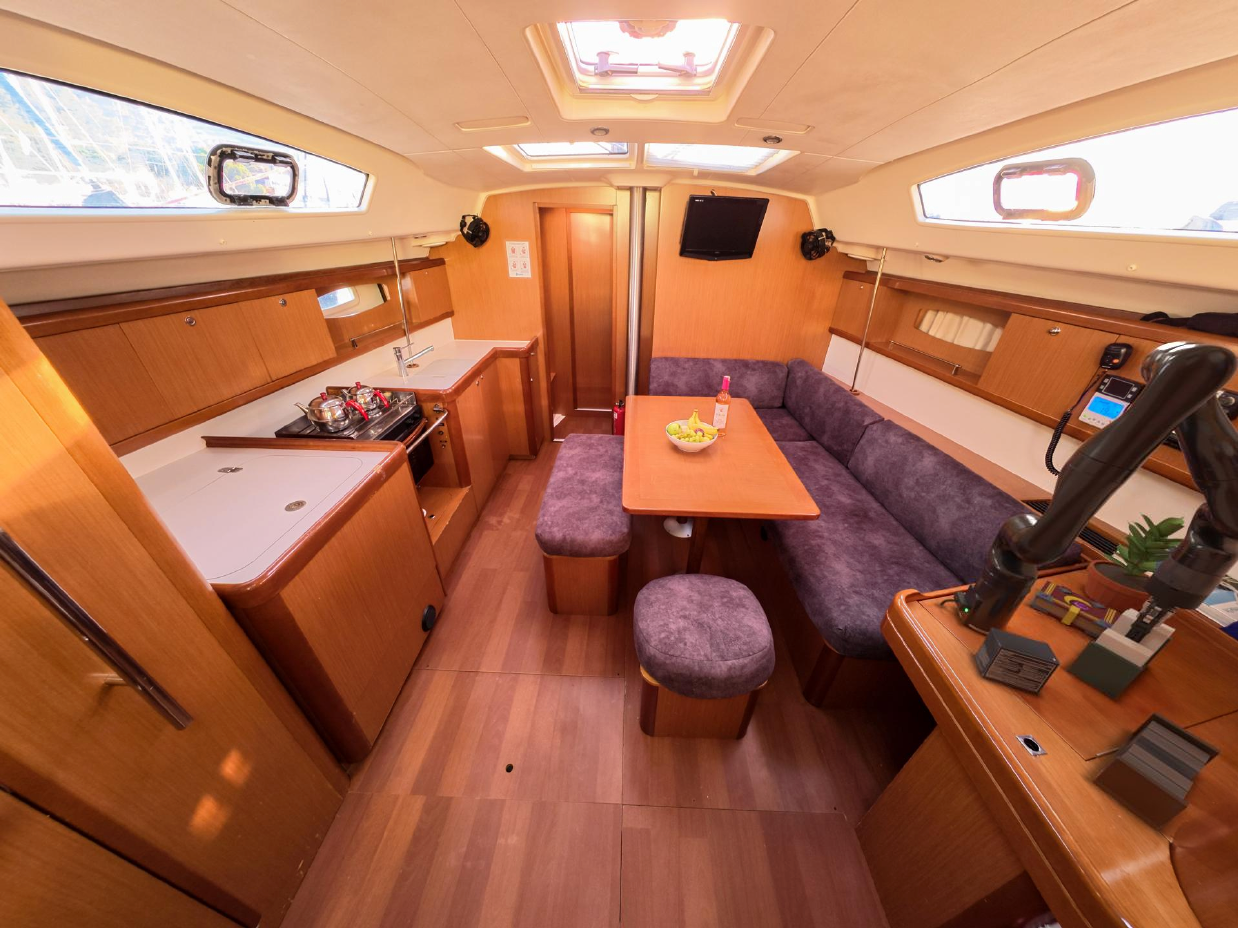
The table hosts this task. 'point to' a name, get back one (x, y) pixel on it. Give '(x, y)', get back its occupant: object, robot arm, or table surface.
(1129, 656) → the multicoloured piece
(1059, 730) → the table surface
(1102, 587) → the potted plant
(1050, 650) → the small box
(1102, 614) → the decorative book
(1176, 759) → the grey book rack
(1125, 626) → the white book
